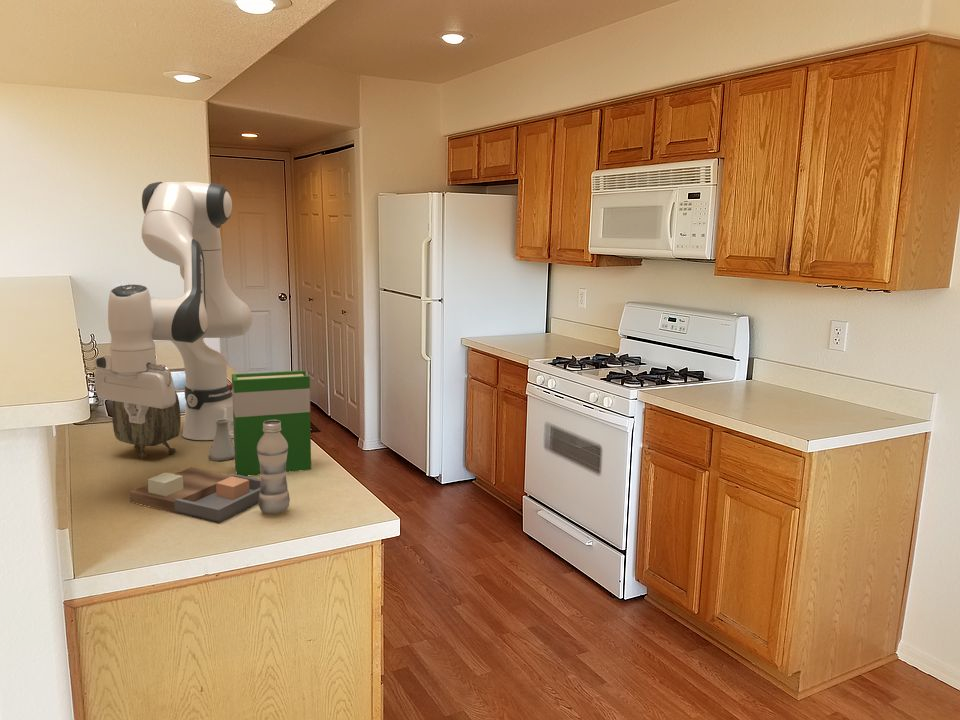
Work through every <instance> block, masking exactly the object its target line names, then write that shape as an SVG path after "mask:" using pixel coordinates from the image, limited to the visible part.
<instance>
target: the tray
mask: <svg viewBox="0 0 960 720" xmlns="http://www.w3.org/2000/svg"><path fill="white" fill-rule="evenodd" d="M230 475H231V476H233V477H238V478H243V479H247V480H249V490H250V492H249V493H247V494H245V495H243V496H241V497H239V498H237V499H235V500H233V499H228V498H224V497H220V496H217V495H216V492H215V493H213V494H210V495H208V496H206V497H204V498H201V499H199V500H197V501H195V502H192V501H188V500H184V499H179V498H177V499H175V500H174V503H175V513H174V514H177V515H182V516H185V517H190V518H194V519H197V520H203V521H206V522H210V523H215V524H219V525H220V524H222V523H224V522H225V521H227V520H230V519H231V518H233V517H235V516H237V515H239V514H241V513H244V512H245V511H247V510H249V509H251V508H253V507H255V506H257V505H259V503H258V500H259V493H260V481H261V478H256V477H252V476H242V475H237V473H233V474H230Z"/></svg>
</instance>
